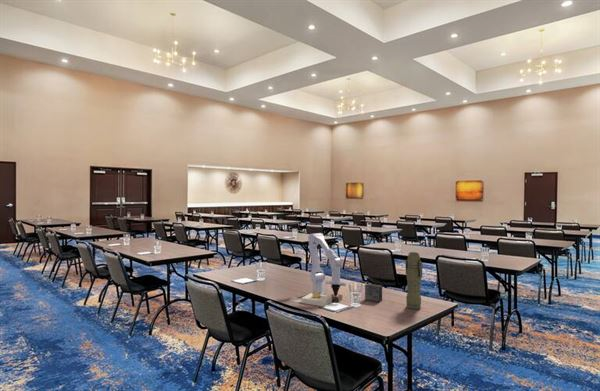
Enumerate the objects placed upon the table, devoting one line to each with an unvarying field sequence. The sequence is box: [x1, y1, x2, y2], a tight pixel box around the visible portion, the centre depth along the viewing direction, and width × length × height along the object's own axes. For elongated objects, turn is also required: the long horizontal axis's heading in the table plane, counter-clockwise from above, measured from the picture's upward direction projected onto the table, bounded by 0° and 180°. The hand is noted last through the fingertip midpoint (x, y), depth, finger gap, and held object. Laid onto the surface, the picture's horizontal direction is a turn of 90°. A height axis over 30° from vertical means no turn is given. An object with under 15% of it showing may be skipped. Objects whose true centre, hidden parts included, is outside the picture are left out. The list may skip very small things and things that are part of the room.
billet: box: [312, 291, 320, 299], centre depth 242 cm, size 4×4×6 cm
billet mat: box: [288, 296, 303, 303], centre depth 246 cm, size 9×9×1 cm
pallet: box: [301, 292, 333, 307], centre depth 241 cm, size 14×16×4 cm
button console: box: [329, 293, 343, 303], centre depth 247 cm, size 7×7×3 cm
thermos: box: [405, 251, 423, 310], centre depth 232 cm, size 9×12×35 cm
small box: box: [364, 283, 383, 303], centre depth 247 cm, size 11×6×10 cm, turn 59°
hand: (335, 295), depth 247 cm, fingers closed, pressing on button cap
